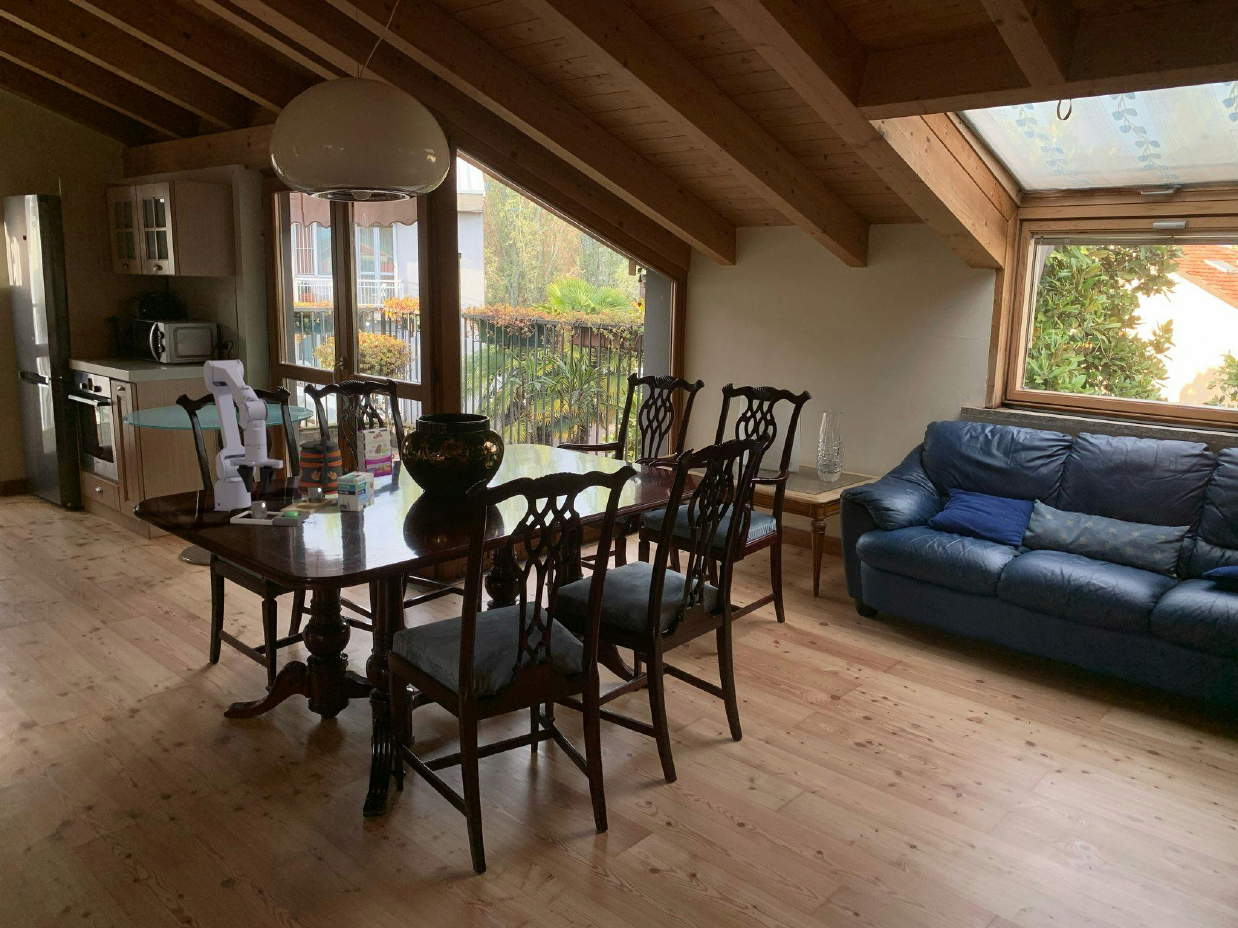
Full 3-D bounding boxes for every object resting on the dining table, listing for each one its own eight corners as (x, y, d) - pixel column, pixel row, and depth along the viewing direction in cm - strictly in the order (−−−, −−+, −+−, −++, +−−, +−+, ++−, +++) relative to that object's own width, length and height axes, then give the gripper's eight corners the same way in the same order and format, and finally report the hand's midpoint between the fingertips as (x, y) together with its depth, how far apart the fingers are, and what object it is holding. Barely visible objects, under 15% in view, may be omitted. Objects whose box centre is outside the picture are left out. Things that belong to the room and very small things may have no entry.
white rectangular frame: (230, 524, 257) (230, 518, 257) (247, 516, 266) (247, 510, 266) (272, 526, 256) (271, 520, 255) (287, 518, 265) (287, 512, 264)
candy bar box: (384, 472, 332) (383, 427, 329) (393, 474, 329) (391, 428, 326) (357, 476, 324) (356, 430, 321) (365, 478, 321) (364, 431, 318)
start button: (282, 520, 257) (282, 513, 257) (288, 517, 260) (288, 510, 260) (294, 521, 256) (294, 514, 256) (300, 518, 260) (300, 511, 260)
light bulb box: (358, 515, 270) (357, 479, 268) (337, 513, 271) (336, 477, 269) (375, 507, 280) (374, 472, 278) (354, 505, 282) (353, 470, 280)
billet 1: (249, 521, 259) (248, 503, 258) (256, 517, 263) (255, 500, 262) (262, 521, 259) (261, 504, 258) (269, 518, 262) (268, 501, 262)
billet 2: (306, 505, 276) (305, 488, 275) (312, 502, 280) (311, 485, 279) (319, 505, 276) (318, 489, 275) (325, 502, 279) (324, 486, 278)
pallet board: (280, 517, 266) (280, 509, 265) (307, 504, 282) (307, 497, 282) (310, 518, 265) (310, 511, 264) (335, 505, 281) (335, 498, 281)
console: (273, 526, 256) (273, 517, 255) (285, 520, 262) (285, 511, 262) (297, 527, 255) (297, 519, 254) (309, 521, 262) (309, 513, 261)
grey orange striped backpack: (355, 499, 290) (353, 436, 287) (307, 503, 283) (304, 439, 279) (339, 487, 306) (337, 427, 303) (293, 491, 299) (290, 430, 295)
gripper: (222, 445, 254) (225, 494, 256) (273, 447, 252) (275, 496, 255) (236, 441, 261) (239, 488, 263) (285, 443, 259) (287, 491, 261)
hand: (258, 492), depth 259 cm, fingers open, 4 cm apart
